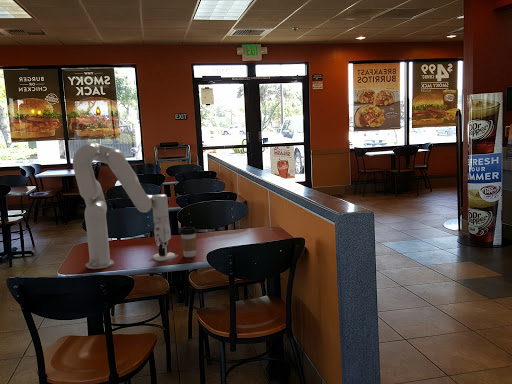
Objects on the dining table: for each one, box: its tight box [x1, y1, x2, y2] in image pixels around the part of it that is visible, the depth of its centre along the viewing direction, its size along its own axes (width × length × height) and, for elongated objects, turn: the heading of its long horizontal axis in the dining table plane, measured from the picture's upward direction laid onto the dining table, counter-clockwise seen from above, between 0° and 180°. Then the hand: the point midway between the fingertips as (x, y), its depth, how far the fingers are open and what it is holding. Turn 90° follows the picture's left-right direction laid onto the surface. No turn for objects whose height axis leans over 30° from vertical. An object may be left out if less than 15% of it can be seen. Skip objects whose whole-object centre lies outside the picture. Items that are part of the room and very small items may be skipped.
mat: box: [148, 253, 179, 262], centre depth 240 cm, size 12×12×1 cm
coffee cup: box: [179, 226, 197, 258], centre depth 241 cm, size 8×8×15 cm
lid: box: [152, 244, 176, 262], centre depth 239 cm, size 11×11×7 cm
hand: (163, 254), depth 240 cm, fingers closed on lid, 3 cm apart
